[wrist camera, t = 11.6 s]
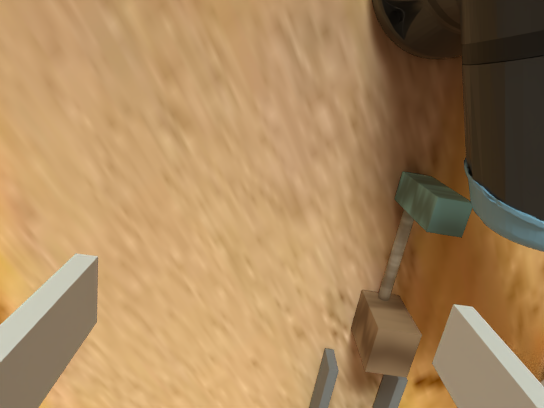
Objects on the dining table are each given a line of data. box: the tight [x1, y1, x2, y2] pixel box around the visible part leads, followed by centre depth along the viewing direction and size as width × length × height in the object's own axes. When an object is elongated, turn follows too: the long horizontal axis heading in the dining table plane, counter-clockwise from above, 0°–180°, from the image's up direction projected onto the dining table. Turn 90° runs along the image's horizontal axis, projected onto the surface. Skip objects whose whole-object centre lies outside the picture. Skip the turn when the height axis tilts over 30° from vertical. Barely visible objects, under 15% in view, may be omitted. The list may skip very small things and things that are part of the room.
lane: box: [309, 348, 408, 408], centre depth 54 cm, size 14×10×4 cm
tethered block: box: [351, 171, 473, 377], centre depth 44 cm, size 22×5×10 cm, turn 170°
